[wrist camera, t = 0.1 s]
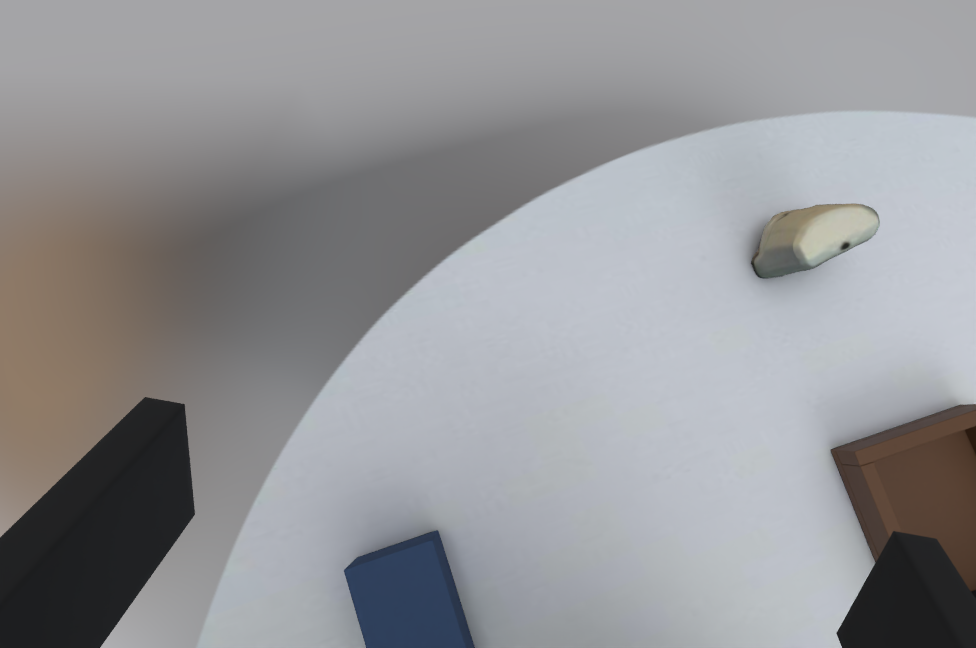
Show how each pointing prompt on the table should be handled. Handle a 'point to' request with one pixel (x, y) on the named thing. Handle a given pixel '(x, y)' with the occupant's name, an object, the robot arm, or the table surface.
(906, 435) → the wooden tray
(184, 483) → the robot arm
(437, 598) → the pad
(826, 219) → the grey stone
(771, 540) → the table surface
